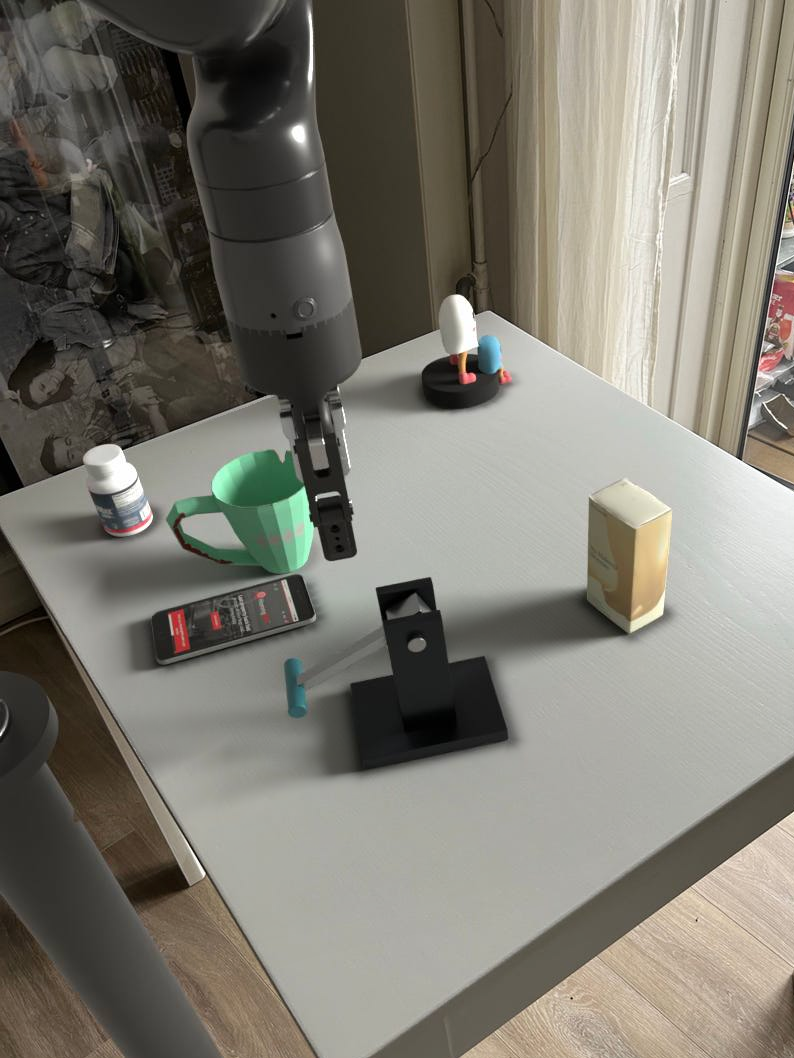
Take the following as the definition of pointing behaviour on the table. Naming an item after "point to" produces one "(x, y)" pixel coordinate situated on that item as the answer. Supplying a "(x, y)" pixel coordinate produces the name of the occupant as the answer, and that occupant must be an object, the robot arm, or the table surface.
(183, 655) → the smartphone
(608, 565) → the cosmetic box
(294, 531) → the mug
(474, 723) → the bracket
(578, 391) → the table surface
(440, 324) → the figurine
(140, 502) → the pill bottle
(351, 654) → the lever
